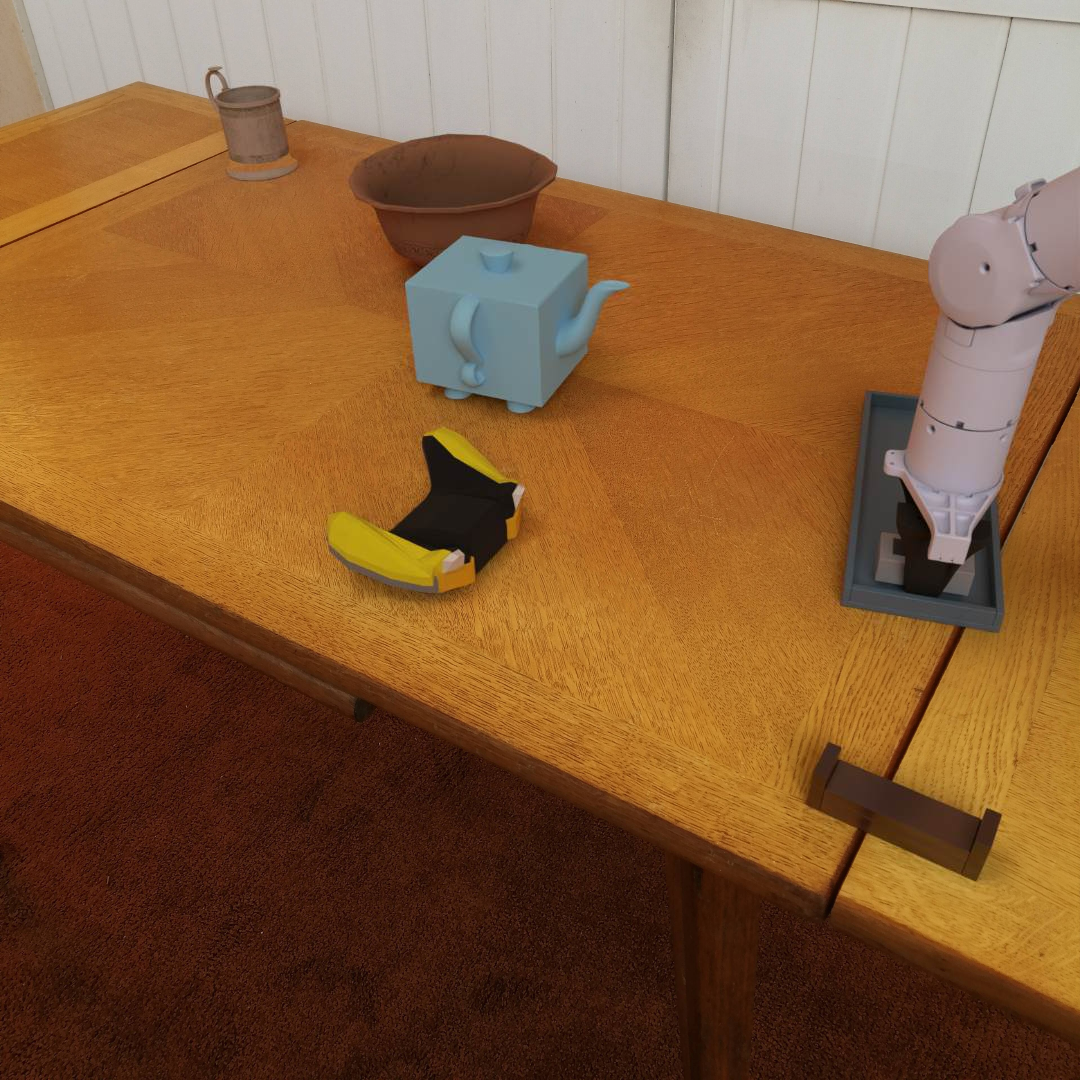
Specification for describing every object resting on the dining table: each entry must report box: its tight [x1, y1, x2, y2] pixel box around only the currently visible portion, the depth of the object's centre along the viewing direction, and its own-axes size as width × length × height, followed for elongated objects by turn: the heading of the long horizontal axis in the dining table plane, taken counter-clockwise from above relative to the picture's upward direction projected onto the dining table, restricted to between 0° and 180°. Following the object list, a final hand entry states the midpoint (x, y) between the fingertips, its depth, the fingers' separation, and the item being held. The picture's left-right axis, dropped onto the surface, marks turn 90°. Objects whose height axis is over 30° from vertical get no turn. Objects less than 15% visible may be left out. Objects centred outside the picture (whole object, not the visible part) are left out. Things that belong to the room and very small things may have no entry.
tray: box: [840, 389, 1006, 634], centre depth 75 cm, size 10×26×2 cm, turn 163°
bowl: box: [347, 133, 559, 270], centre depth 108 cm, size 22×22×11 cm
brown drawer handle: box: [805, 741, 1003, 882], centre depth 53 cm, size 9×2×3 cm, turn 58°
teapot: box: [404, 236, 631, 414], centre depth 87 cm, size 18×16×13 cm
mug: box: [204, 66, 300, 182], centre depth 136 cm, size 14×10×12 cm
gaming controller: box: [326, 426, 526, 595], centre depth 72 cm, size 15×6×10 cm
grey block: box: [874, 532, 975, 596], centre depth 68 cm, size 6×3×2 cm, turn 73°
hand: (921, 576), depth 68 cm, fingers closed on grey block, 3 cm apart
